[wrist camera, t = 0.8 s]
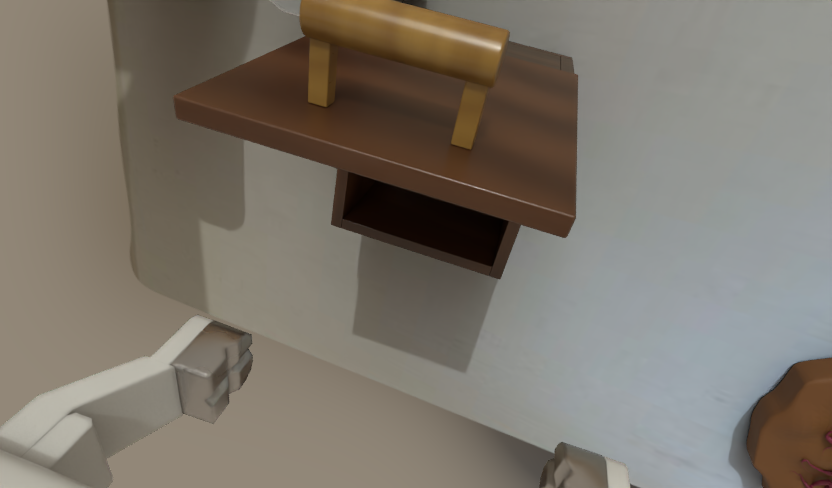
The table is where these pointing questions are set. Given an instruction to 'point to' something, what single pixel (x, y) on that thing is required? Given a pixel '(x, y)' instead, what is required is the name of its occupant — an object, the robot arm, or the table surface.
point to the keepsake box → (433, 209)
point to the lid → (409, 108)
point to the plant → (795, 429)
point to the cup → (292, 6)
